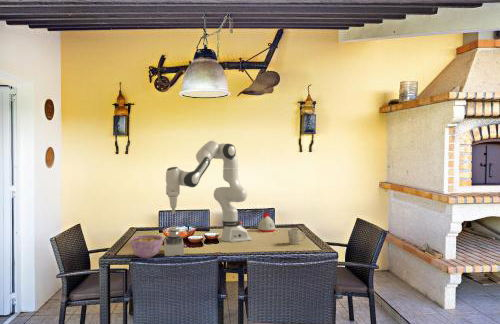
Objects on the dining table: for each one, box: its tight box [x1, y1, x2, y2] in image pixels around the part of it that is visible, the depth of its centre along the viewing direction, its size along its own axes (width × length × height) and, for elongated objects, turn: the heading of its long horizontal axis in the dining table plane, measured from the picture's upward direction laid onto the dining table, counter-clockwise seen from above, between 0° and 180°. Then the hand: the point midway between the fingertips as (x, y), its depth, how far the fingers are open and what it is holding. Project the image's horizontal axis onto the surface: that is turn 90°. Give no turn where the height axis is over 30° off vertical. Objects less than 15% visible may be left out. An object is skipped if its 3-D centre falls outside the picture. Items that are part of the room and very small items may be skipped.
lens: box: [168, 226, 179, 239], centre depth 278 cm, size 6×6×9 cm
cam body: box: [163, 235, 185, 257], centre depth 276 cm, size 12×18×10 cm
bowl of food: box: [130, 234, 164, 259], centre depth 266 cm, size 20×20×12 cm
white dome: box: [257, 211, 276, 233], centre depth 345 cm, size 14×14×15 cm
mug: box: [287, 227, 307, 245], centre depth 299 cm, size 8×13×10 cm, turn 91°
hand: (173, 212), depth 277 cm, fingers open, 8 cm apart
